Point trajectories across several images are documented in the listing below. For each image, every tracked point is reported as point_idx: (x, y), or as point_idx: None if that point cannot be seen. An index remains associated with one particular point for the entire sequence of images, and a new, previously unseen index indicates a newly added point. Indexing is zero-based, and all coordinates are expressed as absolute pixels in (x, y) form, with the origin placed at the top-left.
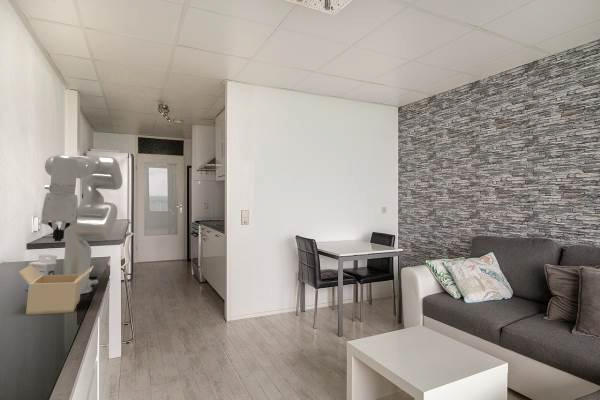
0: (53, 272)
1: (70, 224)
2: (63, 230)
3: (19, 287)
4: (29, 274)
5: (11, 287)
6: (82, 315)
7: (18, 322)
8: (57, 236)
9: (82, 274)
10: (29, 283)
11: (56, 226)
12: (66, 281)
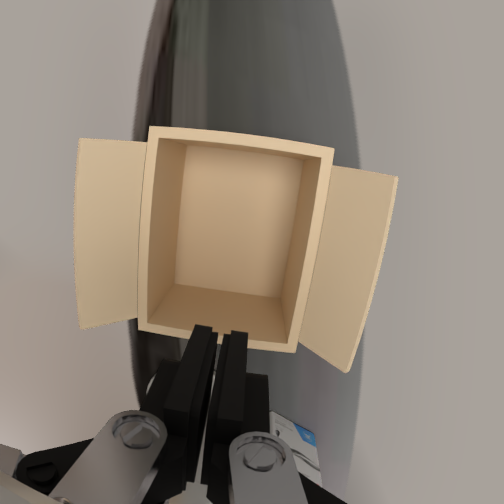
0: None
1: (21, 469)
2: (134, 420)
3: (324, 463)
4: (345, 249)
5: (339, 464)
6: (159, 94)
7: (321, 81)
8: (217, 370)
9: (131, 305)
10: (310, 445)
11: (229, 486)
12: (198, 317)
